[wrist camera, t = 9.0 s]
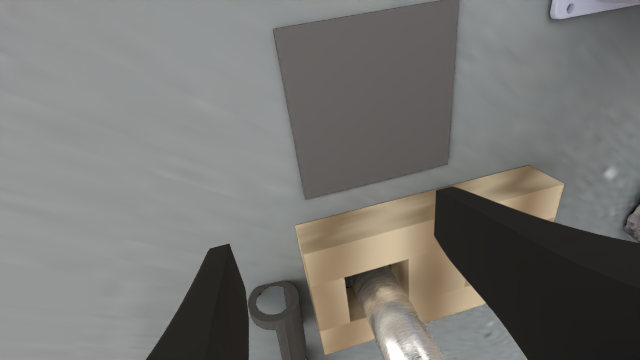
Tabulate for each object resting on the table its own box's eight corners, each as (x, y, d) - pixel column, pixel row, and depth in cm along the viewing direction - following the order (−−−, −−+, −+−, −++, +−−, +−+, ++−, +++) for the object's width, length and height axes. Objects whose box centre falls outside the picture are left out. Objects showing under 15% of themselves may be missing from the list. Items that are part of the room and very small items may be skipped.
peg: (373, 239, 24) (452, 366, 16) (386, 264, 26) (464, 393, 17) (338, 258, 24) (397, 396, 16) (353, 282, 26) (413, 419, 17)
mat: (455, -2, 18) (459, -3, 17) (445, 162, 23) (447, 164, 22) (273, 28, 16) (273, 29, 16) (304, 197, 21) (305, 199, 21)
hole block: (529, 165, 25) (564, 184, 22) (508, 263, 30) (535, 287, 27) (294, 225, 22) (303, 254, 19) (315, 321, 27) (324, 354, 24)
